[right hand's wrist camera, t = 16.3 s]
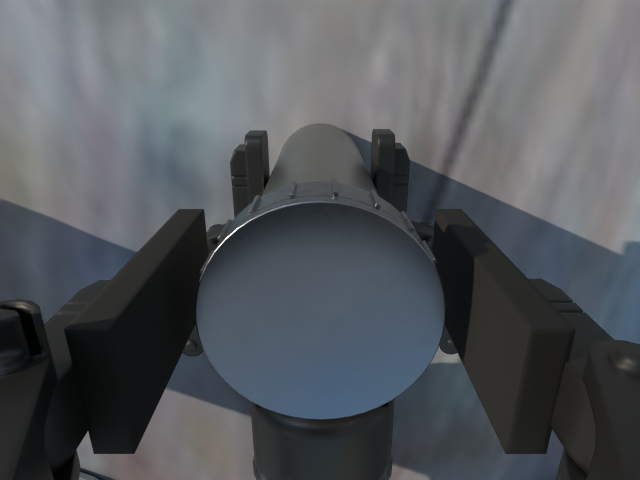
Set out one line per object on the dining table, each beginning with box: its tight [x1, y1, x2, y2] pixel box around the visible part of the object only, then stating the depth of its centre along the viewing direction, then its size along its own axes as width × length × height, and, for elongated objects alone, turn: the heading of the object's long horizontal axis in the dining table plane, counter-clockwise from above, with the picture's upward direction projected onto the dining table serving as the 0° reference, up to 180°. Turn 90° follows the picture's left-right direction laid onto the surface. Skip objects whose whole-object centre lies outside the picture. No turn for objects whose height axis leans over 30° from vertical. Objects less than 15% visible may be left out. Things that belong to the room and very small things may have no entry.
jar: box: [261, 124, 379, 197], centre depth 18 cm, size 5×5×16 cm
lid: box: [195, 179, 446, 419], centre depth 11 cm, size 6×6×2 cm
